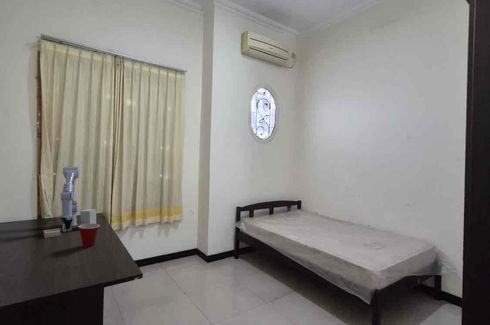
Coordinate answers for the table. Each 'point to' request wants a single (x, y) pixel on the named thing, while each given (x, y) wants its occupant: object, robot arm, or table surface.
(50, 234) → the beech base
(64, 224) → the sage cube
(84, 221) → the supplement box
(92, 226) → the plastic cup
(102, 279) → the table surface
